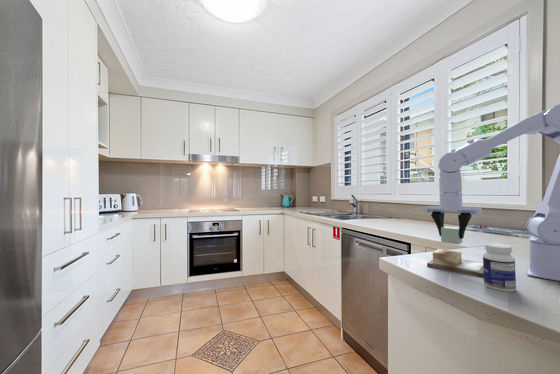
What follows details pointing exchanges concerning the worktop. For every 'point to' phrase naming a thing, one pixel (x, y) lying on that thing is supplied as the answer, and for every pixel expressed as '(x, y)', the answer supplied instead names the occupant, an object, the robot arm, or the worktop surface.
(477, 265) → the board
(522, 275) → the worktop surface
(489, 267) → the pill bottle
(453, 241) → the sage block
